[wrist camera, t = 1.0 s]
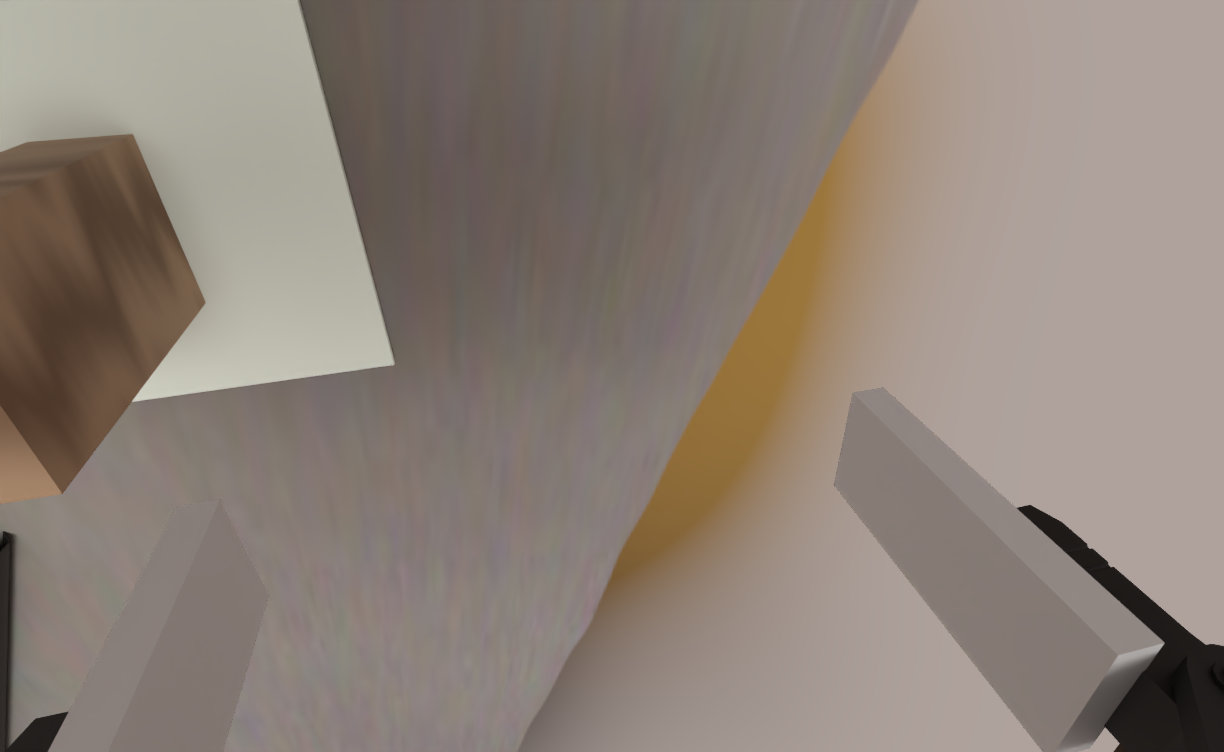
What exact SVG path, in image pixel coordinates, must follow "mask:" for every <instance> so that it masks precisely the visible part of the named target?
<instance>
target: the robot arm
mask: <svg viewBox="0 0 1224 752" xmlns="http://www.w3.org/2000/svg"><path fill="white" fill-rule="evenodd" d="M834 486H835V487H836V488H837V490H838V491H839V492H840V493H841V495H842V496H843V497H844V499H845V500H846V501H847V502H848V503H849V505H850V506H851V508H852V509H853V510H854V511H855V513H856V514H857V515H858V516H859V518H860V519H861V520H862V522H863V523H864V524H865V525H866V527H867V528H868V529H869V530H870V532H871V533H872V534H873V535H874V537H875V538H876V539H877V541H878V542H879V543H880V544H881V546H882V547H883V548H884V550H885V551H886V552H887V553H888V555H889V556H890V557H891V559H892V560H893V561H894V562H895V564H896V565H897V566H898V567H899V569H900V570H901V571H902V573H903V574H904V575H905V576H906V578H907V579H908V580H909V581H910V583H911V584H912V585H913V587H914V588H915V589H916V590H917V592H918V593H919V594H920V595H921V597H922V598H923V599H924V601H925V602H926V603H927V605H928V606H929V607H930V608H931V610H932V611H933V612H934V613H935V615H936V616H937V617H938V618H939V620H940V621H941V622H942V624H943V625H944V626H945V627H946V629H947V630H948V631H949V633H950V634H951V635H952V636H953V638H954V639H955V640H956V642H957V643H958V644H959V645H960V647H961V648H962V649H963V650H964V652H965V653H966V654H967V655H968V657H969V658H970V659H971V661H972V662H973V663H974V664H975V666H976V667H977V668H978V670H979V671H980V672H981V673H982V675H983V676H984V677H985V678H986V680H987V681H988V682H989V684H990V685H991V686H992V687H993V688H994V690H995V691H996V693H997V694H998V695H999V696H1000V698H1001V699H1002V700H1003V702H1004V703H1005V704H1006V705H1007V707H1008V708H1009V709H1010V710H1011V712H1012V713H1013V714H1014V716H1015V717H1016V718H1017V719H1018V721H1019V722H1020V723H1021V724H1022V726H1023V727H1024V728H1025V729H1026V731H1027V732H1028V733H1029V735H1030V736H1031V737H1032V739H1033V740H1034V741H1035V742H1036V744H1037V745H1038V746H1039V747H1040V748H1041V750H1042V751H1043V752H1078V751H1081V750H1085V749H1088V748H1090V747H1091V746H1092V745H1093V743H1094V742H1095V740H1096V739H1097V738H1098V736H1099V735H1100V733H1101V732H1102V731H1103V729H1104V728H1105V727H1106V728H1107V729H1108V731H1109V732H1110V733H1111V734H1112V735H1113V736H1114V737H1115V738H1116V739H1117V740H1118V742H1119V743H1120V744H1119V745H1118V747H1117V748H1116V749H1115V751H1114V752H1224V646H1220V645H1215V644H1209V645H1205V644H1204V643H1202V642H1201V641H1200V640H1199V639H1197V638H1196V637H1195V636H1193V635H1192V634H1191V633H1189V632H1188V631H1187V630H1186V629H1185V628H1184V627H1182V626H1181V625H1180V624H1179V623H1178V622H1177V621H1176V620H1175V619H1173V618H1172V617H1171V616H1170V615H1169V614H1168V613H1166V612H1165V611H1164V610H1163V609H1162V608H1161V607H1159V606H1158V605H1157V604H1156V603H1155V602H1154V601H1152V600H1151V599H1150V598H1149V597H1148V596H1147V595H1146V594H1144V593H1143V592H1142V591H1141V590H1140V589H1139V588H1137V587H1136V586H1135V585H1134V584H1133V583H1132V582H1131V581H1129V580H1128V579H1127V578H1126V577H1125V576H1124V575H1122V574H1121V573H1120V572H1119V571H1118V570H1117V569H1115V568H1114V567H1110V566H1109V565H1108V562H1107V561H1106V560H1105V559H1104V558H1103V557H1101V556H1100V555H1099V554H1098V553H1097V552H1096V551H1095V550H1093V549H1089V548H1088V547H1087V544H1086V543H1085V542H1084V541H1083V540H1082V539H1081V538H1080V537H1078V536H1077V535H1076V534H1075V533H1073V532H1072V531H1071V530H1070V529H1069V528H1068V527H1067V526H1066V525H1064V524H1063V523H1062V522H1061V521H1059V520H1057V519H1055V518H1053V517H1051V516H1050V515H1048V514H1046V513H1044V512H1042V511H1040V510H1039V509H1037V508H1035V507H1033V506H1031V505H1028V506H1023V507H1019V508H1016V507H1015V506H1013V505H1012V504H1011V503H1010V502H1009V501H1008V500H1007V499H1006V498H1005V497H1003V496H1002V495H1001V494H1000V493H999V492H998V491H997V490H996V489H995V488H994V487H993V486H991V485H990V484H989V483H988V482H987V481H986V480H985V479H984V478H982V477H981V476H980V475H979V474H978V473H977V472H976V471H975V470H974V469H973V468H972V467H970V466H969V465H968V464H967V463H966V462H965V461H964V460H963V459H961V457H959V456H958V455H957V454H956V453H955V452H954V451H953V450H952V449H951V448H949V447H948V446H947V445H946V444H945V443H944V442H943V441H942V440H941V439H940V438H939V437H937V436H936V435H935V434H934V433H933V432H932V431H931V430H930V429H929V428H927V427H926V426H925V425H924V424H923V423H922V422H921V421H920V420H919V419H918V418H917V417H915V416H914V415H913V414H912V413H911V412H910V411H909V410H908V409H906V408H905V407H904V406H903V405H902V404H901V403H900V402H899V401H898V400H897V399H896V398H894V397H893V396H892V395H891V394H890V393H889V392H888V391H887V390H886V389H884V388H878V389H872V390H866V391H860V392H854V393H853V394H852V399H851V403H850V409H849V414H848V418H847V423H846V428H845V433H844V438H843V443H842V448H841V453H840V458H839V462H838V467H837V472H836V477H835V482H834ZM268 598H269V594H268V592H267V590H266V588H265V586H264V584H263V582H262V580H261V578H260V576H259V574H258V572H257V570H256V568H255V566H254V564H253V562H252V560H251V558H250V556H249V554H248V552H247V550H246V548H245V546H244V544H243V542H242V540H241V538H240V536H239V534H238V532H237V530H236V528H235V527H234V525H233V523H232V521H231V519H230V517H229V515H228V513H227V511H226V509H225V507H224V505H223V503H222V501H221V499H220V500H214V501H208V502H202V503H196V504H190V505H184V506H178V507H176V509H175V511H174V512H173V514H172V516H171V518H170V520H169V522H168V524H167V526H166V528H165V530H164V532H163V533H162V535H161V537H160V539H159V541H158V543H157V545H156V547H155V549H154V551H153V552H152V554H151V556H150V558H149V560H148V562H147V564H146V566H145V568H144V570H143V571H142V573H141V575H140V577H139V579H138V581H137V583H136V585H135V587H134V589H133V591H132V592H131V594H130V596H129V598H128V600H127V602H126V604H125V606H124V608H123V610H122V611H121V613H120V615H119V617H118V619H117V621H116V623H115V625H114V627H113V629H112V630H111V632H110V634H109V636H108V638H107V640H106V642H105V644H104V646H103V648H102V649H101V651H100V653H99V655H98V657H97V659H96V661H95V663H94V665H93V667H92V669H91V670H90V672H89V674H88V676H87V678H86V680H85V682H84V684H83V686H82V688H81V689H80V691H79V693H78V695H77V697H76V699H75V701H74V703H73V705H72V707H71V708H70V710H69V712H65V713H60V714H55V715H51V716H46V717H41V718H37V719H35V720H34V721H33V722H32V723H31V724H30V725H29V726H28V727H27V728H26V729H25V730H24V732H23V733H22V734H21V735H20V736H19V737H18V738H17V739H16V740H15V741H14V742H13V743H12V744H11V745H10V746H9V748H8V749H7V750H6V751H5V752H223V750H224V747H225V744H226V740H227V737H228V733H229V730H230V727H231V723H232V720H233V716H234V713H235V710H236V706H237V703H238V699H239V696H240V693H241V689H242V686H243V683H244V679H245V676H246V672H247V669H248V666H249V662H250V659H251V655H252V652H253V649H254V645H255V642H256V638H257V635H258V632H259V628H260V625H261V621H262V618H263V615H264V611H265V608H266V605H267V601H268Z"/></svg>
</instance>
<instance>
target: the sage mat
mask: <svg viewBox="0 0 1224 752" xmlns="http://www.w3.org/2000/svg"><path fill="white" fill-rule="evenodd" d="M126 134H133V136H134V138H135V140H136V142H137V145H138V147H139V149H140V152H141V154H142V156H143V159H144V161H145V163H146V166H147V168H148V170H149V173H150V175H151V177H152V179H153V182H154V184H155V186H156V189H157V191H158V193H159V196H160V198H161V200H162V203H163V205H164V207H165V210H166V212H167V214H168V216H169V219H170V221H171V223H172V226H173V228H174V230H175V233H176V235H177V237H178V240H179V242H180V244H181V247H182V249H183V251H184V253H185V256H186V258H187V260H188V263H189V265H190V267H191V270H192V272H193V274H194V277H195V279H196V281H197V284H198V286H199V288H200V290H201V293H202V295H203V297H204V300H205V302H206V303H205V305H204V306H203V307H202V309H201V310H200V311H199V313H198V314H197V315H196V317H195V318H194V319H193V321H192V322H191V323H190V325H189V326H188V327H187V329H186V330H185V331H184V333H183V334H182V335H181V337H180V338H179V339H178V341H177V342H176V343H175V345H174V346H173V347H172V349H171V350H170V351H169V353H168V354H167V355H166V357H165V358H164V359H163V361H162V362H161V363H160V365H159V366H158V367H157V369H156V370H155V371H154V373H153V374H152V375H151V377H150V378H149V379H148V381H147V382H146V383H145V385H144V386H143V387H142V389H141V390H140V391H139V393H138V394H137V395H136V397H135V398H134V399H133V401H132V402H134V401H141V400H148V399H155V398H162V397H170V396H177V395H184V394H191V393H198V392H205V391H212V390H219V389H226V388H233V387H240V386H248V385H255V384H262V383H269V382H276V381H283V380H290V379H297V378H304V377H311V376H319V375H326V374H333V373H340V372H347V371H354V370H361V369H368V368H375V367H382V366H390V365H395V359H394V355H393V352H392V348H391V344H390V340H389V337H388V333H387V329H386V325H385V321H384V318H383V314H382V310H381V306H380V302H379V299H378V295H377V291H376V287H375V284H374V280H373V276H372V272H371V268H370V265H369V261H368V257H367V253H366V250H365V246H364V242H363V238H362V234H361V231H360V227H359V223H358V219H357V215H356V212H355V208H354V204H353V200H352V197H351V193H350V189H349V185H348V181H347V178H346V174H345V170H344V166H343V163H342V159H341V155H340V151H339V147H338V144H337V140H336V136H335V132H334V128H333V125H332V121H331V117H330V113H329V110H328V106H327V102H326V98H325V94H324V91H323V87H322V83H321V79H320V75H319V72H318V68H317V64H316V60H315V57H314V53H313V49H312V45H311V41H310V38H309V34H308V30H307V26H306V23H305V19H304V15H303V11H302V7H301V4H300V0H0V152H2V151H5V150H7V149H10V148H13V147H15V146H18V145H21V144H23V143H26V142H34V141H47V140H60V139H74V138H87V137H100V136H113V135H126Z"/></svg>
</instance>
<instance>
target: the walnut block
mask: <svg viewBox="0 0 1224 752" xmlns="http://www.w3.org/2000/svg"><path fill="white" fill-rule="evenodd" d="M205 303H206V302H205V300H204V297H203V295H202V293H201V290H200V288H199V286H198V284H197V281H196V279H195V277H194V274H193V272H192V270H191V267H190V265H189V263H188V260H187V258H186V256H185V253H184V251H183V249H182V247H181V244H180V242H179V240H178V237H177V235H176V233H175V230H174V228H173V226H172V223H171V221H170V219H169V216H168V214H167V212H166V210H165V207H164V205H163V203H162V200H161V198H160V196H159V193H158V191H157V189H156V186H155V184H154V182H153V179H152V177H151V175H150V173H149V170H148V168H147V166H146V163H145V161H144V159H143V156H142V154H141V152H140V149H139V147H138V145H137V142H136V140H135V138H134V136H133V134H126V135H113V136H100V137H87V138H74V139H60V140H47V141H34V142H26V143H23V144H21V145H18V146H15V147H13V148H10V149H7V150H5V151H2V152H0V504H2V503H9V502H15V501H21V500H27V499H34V498H40V497H46V496H52V495H59V494H63V492H64V491H65V490H66V488H67V487H68V486H69V484H70V483H71V482H72V480H73V479H74V478H75V476H76V475H77V474H78V472H79V471H80V470H81V468H82V467H83V466H84V464H85V463H86V462H87V460H88V459H89V458H90V456H91V455H92V454H93V452H94V451H95V450H96V448H97V447H98V446H99V444H100V443H101V442H102V440H103V439H104V438H105V436H106V435H107V434H108V432H109V431H110V430H111V429H112V427H113V426H114V425H115V423H116V422H117V421H118V419H119V418H120V417H121V415H122V414H123V413H124V411H125V410H126V409H127V407H128V406H129V405H130V403H131V402H132V401H133V399H134V398H135V397H136V395H137V394H138V393H139V391H140V390H141V389H142V387H143V386H144V385H145V383H146V382H147V381H148V379H149V378H150V377H151V375H152V374H153V373H154V371H155V370H156V369H157V367H158V366H159V365H160V363H161V362H162V361H163V359H164V358H165V357H166V355H167V354H168V353H169V351H170V350H171V349H172V347H173V346H174V345H175V343H176V342H177V341H178V339H179V338H180V337H181V335H182V334H183V333H184V331H185V330H186V329H187V327H188V326H189V325H190V323H191V322H192V321H193V319H194V318H195V317H196V315H197V314H198V313H199V311H200V310H201V309H202V307H203V306H204V305H205Z"/></svg>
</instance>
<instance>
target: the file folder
mask: <svg viewBox="0 0 1224 752" xmlns="http://www.w3.org/2000/svg"><path fill="white" fill-rule="evenodd" d="M9 552H10V541H9V539H8V537H7V535H6V533H5V532H4V531H3V549H2V550H1V551H0V752H5V722H6V679H7V637H8V594H9Z"/></svg>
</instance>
